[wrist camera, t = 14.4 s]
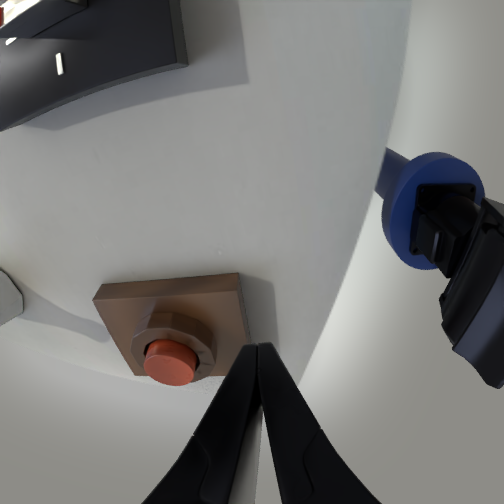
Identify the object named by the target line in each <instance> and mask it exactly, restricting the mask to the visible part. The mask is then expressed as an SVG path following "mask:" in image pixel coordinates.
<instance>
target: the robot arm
mask: <svg viewBox="0 0 504 504" xmlns="http://www.w3.org/2000/svg"><path fill="white" fill-rule="evenodd" d="M423 188H424V190H423V192H421V190H422V189H423ZM471 188H472V189H471ZM470 189H471V191H470ZM475 194H476V186H475V185H474V184H472V183H431V184H419V185H418V186H417V189H416V197H415V207H414V210H413V214H412V222H411V230H410V245H409V252H410V253H411V255H414V256H415V255H423V254H424V255H425V256H426V258H427V259H428V260H429V261H430V263H432V264H434V263H435V264H436V266H437V267H438V268H439V270H440V271H441V272H442V273H443V275H444V276H445V277H446V278H451V279H450V281H449V283H448V285H447V287H446V289H445V291H444V293H442V294H441V296H440V298H439V302H440V306H441V313H442V319H443V322H442V324H441V325H442V328H443V330H444V332H445V333H446V335H447V337H448V338H449V340H450V342H451V343H452V344H453V347H452V350H453V351H454V352H456V353H457V354H459V355H460V356H462V357H464V358H465V359H466V360H467V361H468V362H469V363H470V364H471V365H472V366H473V367H474V368H475V369H476V370H477V372H478V373H479V375H480V376H481V377H482V379H483V380H484V381H485V383H486V384H487V385H490V386H492V387H494V388H497V389H500V388H501V387H502V386H503V385H504V204H502V203H499V202H497V201H494V200H491V199H488V198H485V197H483V198H482V201H481V207H480V206H478V205H477V204H476V203H474V200H475ZM415 248H416V249H415ZM414 249H415V250H414ZM413 250H414V251H413ZM263 412H264V417H265V422H266V427H267V432H268V437H269V442H270V447H271V452H272V457H273V462H274V467H275V472H276V477H277V482H278V486H279V491H280V496H281V500H282V504H382V503H381V502H379V501H378V500H377V499H376V498H375V497H374V496H373V495H372V494H371V492H370V491H369V490H368V489H367V488H366V487H365V486H364V485H363V483H362V482H361V481H360V480H359V479H358V478H357V476H356V475H355V474H354V473H353V472H352V471H351V470H350V468H349V467H348V466H347V465H346V464H345V462H344V461H343V460H342V458H341V457H340V456H339V455H338V454H337V452H336V450H335V449H334V447H333V446H332V444H331V443H330V441H329V440H328V438H327V436H326V435H325V433H324V431H323V430H322V429H321V427H320V425H319V423H318V422H317V420H316V418H315V417H314V415H313V413H312V411H311V410H310V408H309V407H308V405H307V403H306V401H305V400H304V398H303V396H302V395H301V393H300V391H299V389H298V388H297V386H296V384H295V382H294V381H293V379H292V377H291V375H290V374H289V372H288V370H287V368H286V367H285V365H284V363H283V361H282V360H281V358H280V356H279V354H278V353H277V351H276V349H275V347H274V346H273V344H272V343H271V342H264V343H259V344H258V345H257V344H255V343H253V344H244V345H243V346H242V347H241V349H240V351H239V353H238V355H237V357H236V358H235V360H234V362H233V364H232V366H231V368H230V369H229V371H228V373H227V375H226V377H225V379H224V380H223V382H222V384H221V386H220V388H219V389H218V391H217V393H216V395H215V396H214V398H213V400H212V402H211V404H210V406H209V407H208V409H207V411H206V413H205V414H204V416H203V418H202V419H201V421H200V423H199V425H198V426H197V428H196V430H195V431H194V433H193V435H194V436H192V437H191V438H190V440H189V442H188V443H187V445H186V447H185V448H184V450H183V451H182V453H181V455H180V456H179V458H178V459H177V460H176V462H175V463H174V465H173V466H172V467H171V469H170V470H169V471H168V472H167V474H166V475H165V476H164V477H163V479H162V480H161V481H160V482H159V484H158V485H157V486H156V487H155V488H154V489H153V491H152V492H151V493H150V494H149V495H148V497H147V498H146V499H145V500H144V501H143V502H142V503H141V504H255V494H256V484H257V474H258V464H259V452H260V442H261V431H262V419H263Z"/></svg>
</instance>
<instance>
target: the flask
mask: <svg viewBox="0 0 504 504" xmlns="http://www.w3.org/2000/svg"><path fill="white" fill-rule="evenodd" d="M21 313H23V302H22V295H21V293H20V292H19V291H18V289H17V288H16V287H15V286H14V284H13V283H12V282H11V280H10V279H9V278H8V276H7V275H6V274H5V273H3V272H2V271H0V326H1V325H3V324H5V323H6V322H8V321H10V320H11V319H13V318H15V317H17V316H18V315H20V314H21Z"/></svg>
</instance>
